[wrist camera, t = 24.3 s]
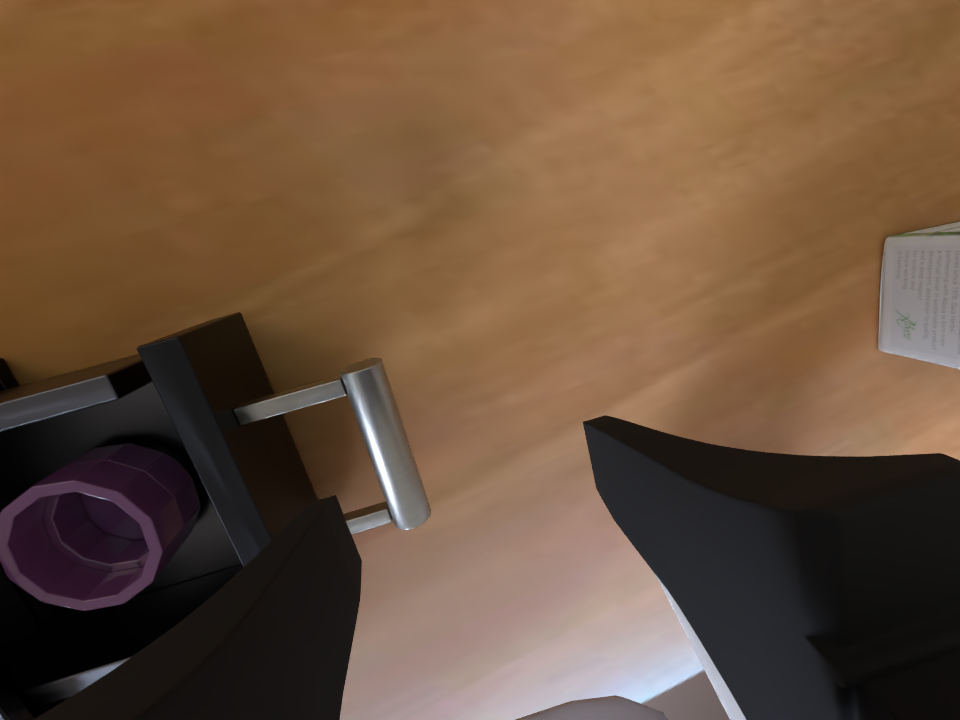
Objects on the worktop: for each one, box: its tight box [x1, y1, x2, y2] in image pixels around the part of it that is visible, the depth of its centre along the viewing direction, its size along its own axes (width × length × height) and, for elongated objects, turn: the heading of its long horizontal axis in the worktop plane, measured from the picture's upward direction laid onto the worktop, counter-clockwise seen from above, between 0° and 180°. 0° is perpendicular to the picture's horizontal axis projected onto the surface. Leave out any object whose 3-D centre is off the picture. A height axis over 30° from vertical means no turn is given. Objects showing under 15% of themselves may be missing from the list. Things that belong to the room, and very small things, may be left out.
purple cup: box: [0, 443, 200, 611], centre depth 16 cm, size 5×5×3 cm
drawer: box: [0, 312, 431, 710], centre depth 16 cm, size 17×11×5 cm, turn 104°
